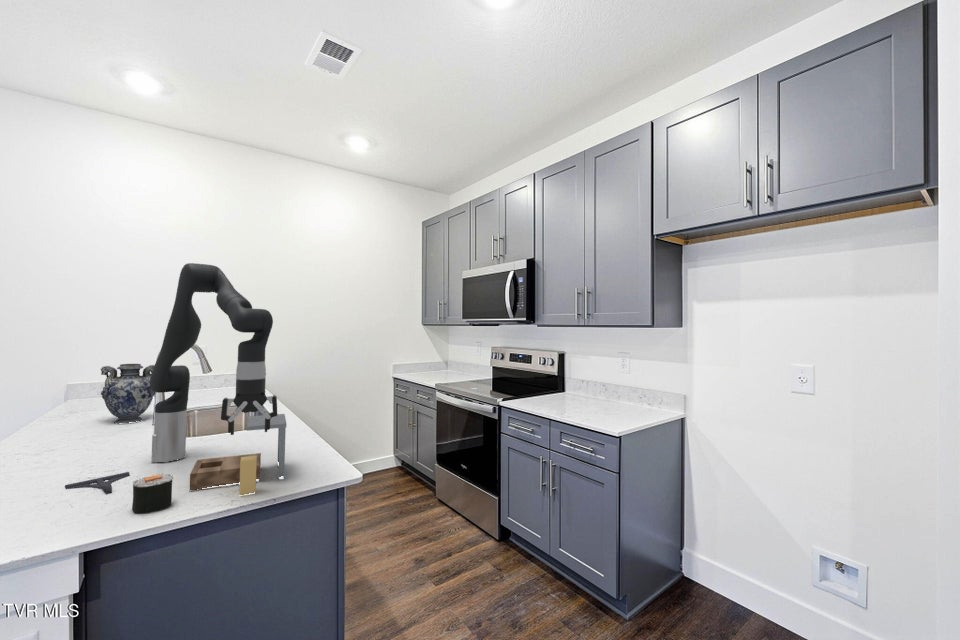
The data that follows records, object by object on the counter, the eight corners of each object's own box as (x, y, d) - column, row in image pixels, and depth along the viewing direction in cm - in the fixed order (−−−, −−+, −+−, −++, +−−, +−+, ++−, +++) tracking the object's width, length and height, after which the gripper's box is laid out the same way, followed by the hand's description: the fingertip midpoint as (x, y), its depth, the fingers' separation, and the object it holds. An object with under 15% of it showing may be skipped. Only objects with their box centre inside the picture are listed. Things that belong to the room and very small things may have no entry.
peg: (239, 496, 117) (240, 461, 117) (240, 491, 120) (241, 457, 120) (255, 494, 118) (256, 459, 119) (255, 489, 122) (256, 455, 122)
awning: (244, 485, 125) (246, 426, 125) (247, 468, 139) (248, 416, 140) (284, 479, 130) (286, 423, 130) (283, 464, 144) (284, 413, 145)
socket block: (189, 491, 119) (190, 474, 120) (196, 475, 132) (197, 459, 132) (259, 481, 128) (260, 465, 128) (260, 467, 140) (260, 453, 140)
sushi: (175, 506, 110) (176, 476, 110) (134, 516, 103) (136, 484, 103) (168, 497, 115) (169, 469, 115) (129, 507, 109) (130, 476, 109)
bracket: (73, 504, 111) (74, 494, 111) (64, 490, 120) (65, 480, 120) (141, 489, 122) (141, 479, 122) (128, 476, 132) (128, 468, 132)
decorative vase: (155, 415, 215) (157, 361, 215) (157, 422, 200) (158, 365, 200) (100, 420, 201) (101, 363, 201) (97, 429, 187) (99, 367, 187)
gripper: (221, 379, 113) (219, 438, 113) (278, 377, 120) (277, 433, 119) (223, 376, 120) (221, 432, 120) (278, 374, 126) (276, 427, 126)
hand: (249, 432), depth 120 cm, fingers open, 8 cm apart
